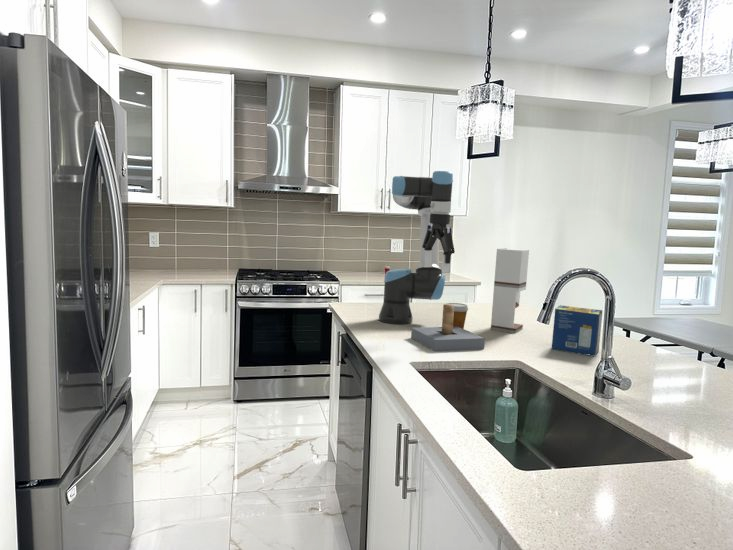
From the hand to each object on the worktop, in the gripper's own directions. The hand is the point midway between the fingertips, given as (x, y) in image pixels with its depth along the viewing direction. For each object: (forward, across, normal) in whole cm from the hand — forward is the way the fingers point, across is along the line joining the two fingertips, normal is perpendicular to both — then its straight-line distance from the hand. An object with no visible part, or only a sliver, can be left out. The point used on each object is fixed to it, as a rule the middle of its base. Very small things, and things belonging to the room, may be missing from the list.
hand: (436, 269), depth 196 cm
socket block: (+27, +7, +2) cm, 28 cm away
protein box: (+27, +26, +47) cm, 60 cm away
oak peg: (+26, +7, +2) cm, 27 cm away
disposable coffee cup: (+28, -7, +15) cm, 32 cm away
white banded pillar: (+28, -10, +43) cm, 52 cm away
